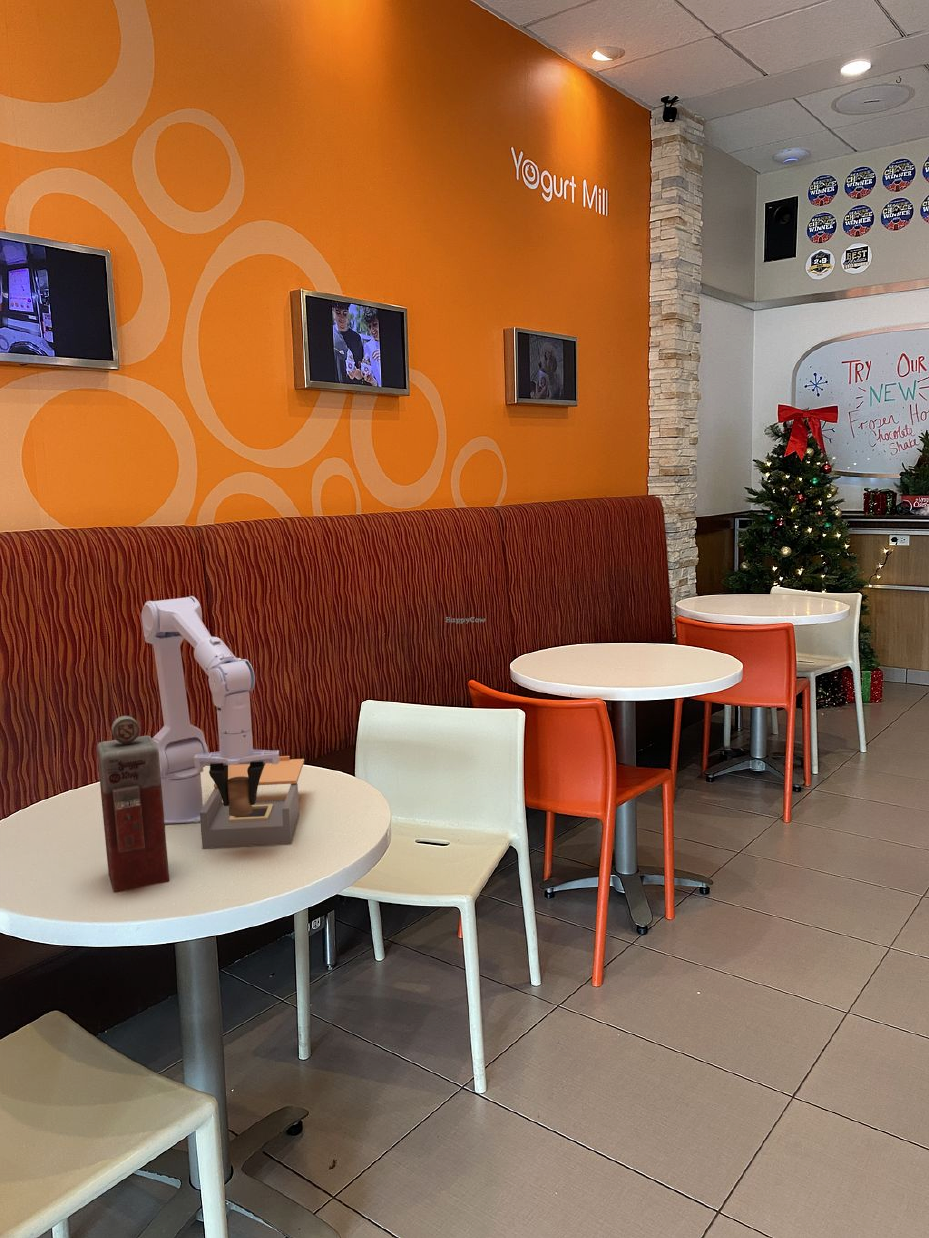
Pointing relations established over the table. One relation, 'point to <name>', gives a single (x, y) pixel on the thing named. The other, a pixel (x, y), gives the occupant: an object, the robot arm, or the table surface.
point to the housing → (249, 822)
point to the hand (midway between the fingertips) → (240, 803)
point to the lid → (272, 771)
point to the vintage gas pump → (132, 808)
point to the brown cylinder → (239, 796)
